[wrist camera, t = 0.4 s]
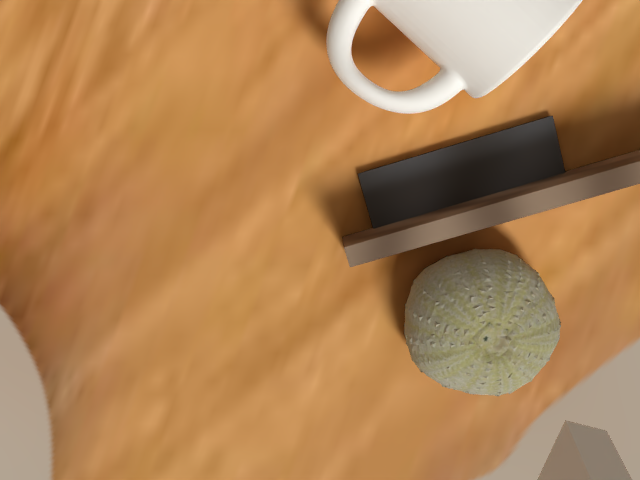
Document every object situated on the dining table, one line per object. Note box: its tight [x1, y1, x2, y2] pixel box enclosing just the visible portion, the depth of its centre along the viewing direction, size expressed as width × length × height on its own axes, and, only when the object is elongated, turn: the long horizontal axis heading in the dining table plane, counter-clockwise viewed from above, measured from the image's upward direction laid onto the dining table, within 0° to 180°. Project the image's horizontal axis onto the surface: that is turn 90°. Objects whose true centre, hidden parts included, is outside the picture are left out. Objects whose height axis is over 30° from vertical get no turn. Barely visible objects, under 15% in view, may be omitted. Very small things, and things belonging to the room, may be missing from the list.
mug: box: [326, 0, 582, 114], centre depth 29 cm, size 12×10×8 cm
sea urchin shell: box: [404, 249, 561, 396], centre depth 34 cm, size 9×8×8 cm
